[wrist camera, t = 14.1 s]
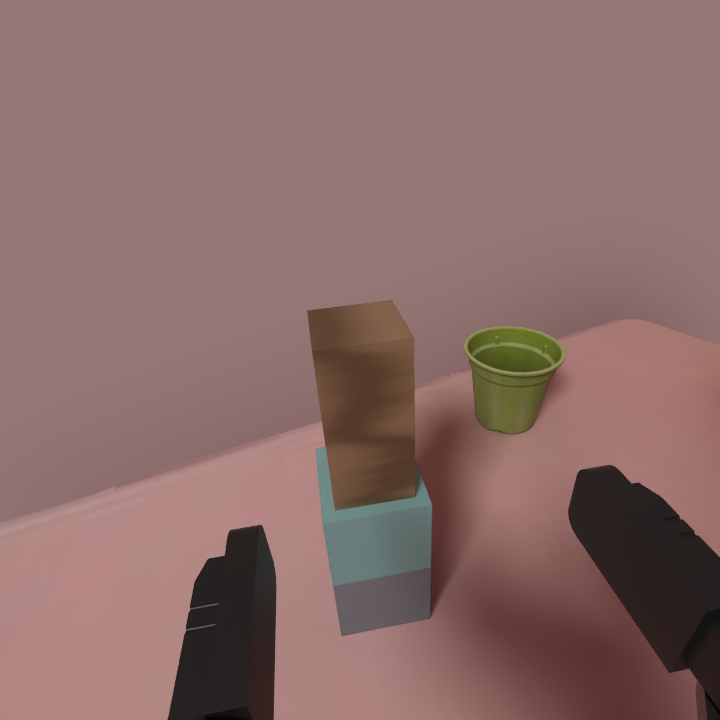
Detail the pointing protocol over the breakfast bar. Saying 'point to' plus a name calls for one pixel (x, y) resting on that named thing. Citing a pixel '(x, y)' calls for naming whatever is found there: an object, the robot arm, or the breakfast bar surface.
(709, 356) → the breakfast bar surface
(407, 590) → the tower base
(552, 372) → the plant pot
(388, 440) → the walnut pillar
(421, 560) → the tower top
